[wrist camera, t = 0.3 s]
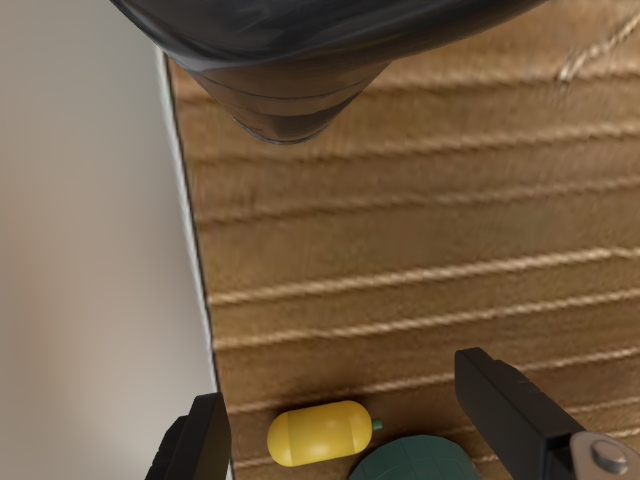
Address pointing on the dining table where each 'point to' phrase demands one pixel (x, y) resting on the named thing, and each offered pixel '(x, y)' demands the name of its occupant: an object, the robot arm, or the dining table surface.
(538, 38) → the dining table surface
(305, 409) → the squash
